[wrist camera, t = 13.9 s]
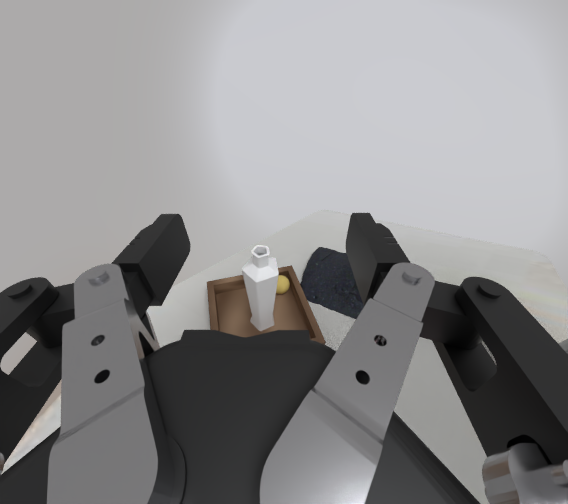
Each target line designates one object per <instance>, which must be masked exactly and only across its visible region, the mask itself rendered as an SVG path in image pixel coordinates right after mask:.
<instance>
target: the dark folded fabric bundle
mask: <svg viewBox="0 0 568 504" xmlns="http://www.w3.org/2000/svg"><path fill="white" fill-rule="evenodd" d="M300 285H301V288H302V290H303V292H304V294H305V297H306V299H307V300H308V301H310V302H312V303H316V304H320V305H322V306H324V307H326V308H328V309H330V310H334V311H336V312H339V313H341V314H344V315H346V316H349V317H351V318H355V319H357V318H358V316H359V314H360V313H361V311H362V309H363V308H364V305H363V302H362V299H361V296H360V293H359V290H358V287H357V284H356V281H355V278H354V274H353V271H352V268H351V265H350V262H349V259H348V256H347V253H340V252H337V251H335V250H331V249H328V248H323V247H319V248H318V249H317V250H316V251H315V252H314V253H313V254H312V256H311V258H310V260H309V261H308V263H307V267H306V269H305V271H304V275H303V278H302V282H301V284H300Z"/></svg>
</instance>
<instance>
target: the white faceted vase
mask: <svg viewBox="0 0 568 504" xmlns="http://www.w3.org/2000/svg"><path fill="white" fill-rule="evenodd" d="M251 253H252V255H253V256H252V257H251V258H250V259H249V261H248V262H247V263H246V264H245V265H244V266H243V267H242V273H243V278H244V282H245V286H246V291H247V295H248V299H249V304H250V308H251V312H252V317H251V320H250V322H251V323H252V324H253V325H254V326H255V327H256V328H257V329H258V330H259V331H262V330H265V329H267V328H269V327H272V326H274V317H273V309H274V303H275V296H276V289H277V282H278V275H279V272H278V267H277V261H276V258H274V257H268V255H269V254H270V253H269V248H268V246H262V245H256V246H255V247H254V248H253V250H252V251H251Z"/></svg>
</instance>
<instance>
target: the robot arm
mask: <svg viewBox="0 0 568 504" xmlns="http://www.w3.org/2000/svg"><path fill="white" fill-rule="evenodd" d="M189 252H190V241H189V238H188V235H187V232H186V229H185V225H184V223H183V219H182V217H181V216H180V215H179V214H161V215H160V216H159V217H158V218H157V219H156V221H155V222H154V223H153V224H152V225H149V226H148V227H146V228H145V229H143V230H141V231H140V232H139V234H138V235H137V236H136V237H135V239H133V240H132V241H131V242H130V245H128V246H127V247H126V248H125V249H124V250H123V251H122V252H121V253H120V254H119V256H118V257H117V258H116V259H115V260H114V261H113V262H112V263H111V264H104V265H100V266H96V267H94V268H91V269H89V270H87V271H85V272H84V273H83V274H81V275H80V276H79V277H78V278H77V279H76V281H75V283H72V284H68V285H63V286H58V287H54V286H53V285H52V284H51V283H50V282H49V281H48V280H47V279H46V278H41V277H38V278H31V279H27V280H24V281H21V282H19V283H16V284H14V285H12V286H10V287H8V288H7V289H5V290H4V291H2V292H1V293H0V363H1V359H2V357H3V356H4V354H5V353H6V352H7V351H8V350H9V349H10V348H11V347H12V346H13V345H14V344H15V342H16V341H17V340H18V339H19V338H20V337H21V336H22V335H23V334H24V333H25V332H27V333H28V334H29V335H30V336H32V337H33V338H34V339H35V340H36V341H37V342H36V344H35V345H34V346H33V347H32V348H31V350H30V351H29V352H28V353H27V354H26V355H25V356H24V358H23V359H22V360H21V361H20V363H19V364H18V365H17V366H16V367H15V368H14V370H13V371H12V372H11V373H10V374H9V375H7V374H6V373H4V372H3V371H2V370H1V368H0V504H480V503H479V502H478V501H477V499H476V498H475V497H474V496H473V495H472V494H471V493H470V492H469V491H468V490H467V489H466V488H465V487H464V486H463V484H462V483H461V482H460V481H459V480H458V479H457V478H456V477H455V476H454V475H453V474H452V473H451V472H450V471H449V470H448V468H447V467H446V466H445V465H444V464H443V463H442V462H441V461H440V460H439V459H438V458H437V457H436V456H435V455H434V454H433V453H432V451H431V450H430V449H429V448H428V447H427V446H426V445H425V444H424V443H423V442H422V441H421V440H420V439H419V438H418V437H417V435H416V434H415V433H414V432H413V431H412V430H411V429H410V428H409V427H408V426H407V425H406V424H405V423H404V422H403V421H402V419H401V418H400V417H399V416H398V415H397V414H396V413H395V412H394V411H393V410H394V407H395V404H396V402H397V399H398V396H399V393H400V390H401V387H402V384H403V381H404V379H405V376H406V373H407V370H408V367H409V364H410V361H411V358H412V356H413V353H414V350H415V347H416V344H417V341H418V338H419V337H423V338H426V339H430V340H432V341H433V343H434V345H435V347H436V349H437V351H438V353H439V356H440V358H441V360H442V362H443V364H444V366H445V368H446V370H447V373H448V375H449V377H450V379H451V381H452V383H453V385H454V387H455V390H456V392H457V394H458V396H459V398H460V400H461V402H462V404H463V406H464V409H465V411H466V413H467V415H468V417H469V419H470V421H471V423H472V426H473V428H474V430H475V432H476V434H477V436H478V438H479V440H480V442H481V445H482V447H483V449H484V451H485V453H486V455H487V457H488V458H487V459H486V460H485V461H484V464H483V468H482V476H483V481H484V485H485V494H486V497H487V499H488V501H489V503H490V504H568V339H566V340H564V341H563V342H561V343H559V344H558V343H557V342H556V341H555V340H554V339H553V338H552V337H551V335H550V334H549V333H548V332H547V331H546V330H545V329H544V328H543V327H542V326H541V325H540V324H539V323H538V321H537V320H536V319H535V318H534V317H533V316H532V315H531V314H530V313H529V312H528V311H527V310H526V308H525V307H524V306H523V305H522V304H521V303H520V302H519V301H518V300H517V299H516V298H515V297H514V296H513V294H512V293H511V292H510V291H509V290H507V289H506V288H505V287H503V286H502V285H500V284H498V283H496V282H494V281H492V280H489V279H485V278H481V277H468V278H466V279H465V280H464V281H463V282H462V284H461V285H460V286H456V285H451V284H447V283H442V282H438V281H435V280H434V277H433V276H432V275H431V273H430V272H428V271H427V270H426V269H424V268H423V267H421V266H418V265H416V264H412V263H410V261H409V260H408V258H407V257H406V255H405V253H404V252H403V250H402V249H401V247H400V246H399V244H397V241H396V239H395V238H394V236H393V235H392V233H391V232H390V230H389V229H388V228H386V227H385V226H383V225H382V224H381V223H375V221H374V220H373V218H372V216H371V214H370V213H352V215H351V218H350V223H349V228H348V233H347V239H346V253H347V256H348V259H349V262H350V265H351V268H352V271H353V274H354V278H355V281H356V284H357V287H358V290H359V293H360V296H361V299H362V302H363V305H364V308H363V309H362V311H361V313H360V314H359V316H358V318H357V319H356V321H355V322H354V324H353V326H352V327H351V329H350V330H349V332H348V334H347V335H346V337H345V339H344V340H343V342H342V343H341V345H340V347H339V348H338V350H337V351H334V350H333V349H331V348H330V347H328V346H326V345H324V344H322V343H319V342H316V341H313V340H310V336H309V330H276V331H272V332H267V333H263V334H259V335H255V336H250V337H240V336H237V335H233V334H229V333H225V332H221V331H217V330H184V332H183V335H182V337H181V340H179V341H176V342H173V343H170V344H168V345H166V346H163V347H161V348H160V346H159V343H158V340H157V338H156V335H155V332H154V329H153V326H152V323H151V320H150V317H149V314H148V313H147V311H146V310H147V309H148V307H149V306H162V304H163V302H164V300H165V298H166V296H167V294H168V292H169V291H170V289H171V287H172V285H173V283H174V281H175V279H176V277H177V275H178V273H179V272H180V270H181V268H182V266H183V264H184V262H185V260H186V259H187V257H188V255H189ZM482 341H484V342H485V344H486V345H487V347H488V348H489V350H490V351H491V353H492V354H493V356H494V358H495V360H496V364H497V366H496V365H495V363H494V362H493V360H492V358H491V357H490V355H489V354H488V352H487V351H486V349H485V348H484V346H483V345H482V343H481V342H482ZM61 379H62V387H61V388H62V390H61V427H59V428H58V429H57V430H56V431H54V432H53V433H52V434H51V435H49V436H48V437H47V438H46V439H45V440H43V441H42V442H41V443H40V444H38V445H37V446H36V447H35V448H33V449H32V450H31V451H30V452H29V453H27V454H26V455H25V456H24V457H22V458H21V459H20V460H19V461H18V462H16V463H15V464H14V465H13V466H11V467H10V468H9V469H8V470H6V471H5V472H4V473H3V474H2V475H1V473H2V471H3V467H4V464H5V462H6V461H7V459H8V458H9V456H10V455H11V453H12V452H13V450H14V449H15V447H16V446H17V444H18V443H19V441H20V440H21V438H22V437H23V435H24V434H25V432H26V431H27V429H28V428H29V426H30V425H31V423H32V422H33V420H34V419H35V417H36V416H37V414H38V413H39V411H40V410H41V408H42V407H43V406H44V404H45V402H46V401H47V399H48V398H49V397H50V395H51V394H52V392H53V391H54V389H55V388H56V386H57V385H58V383H59V382H60V380H61Z"/></svg>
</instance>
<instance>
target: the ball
mask: <svg viewBox="0 0 568 504" xmlns="http://www.w3.org/2000/svg"><path fill="white" fill-rule="evenodd" d="M289 286H290V283H289V280H288V279H287V278H286V277H285V276H283V275H278V282H277V289H276V293H278V294H283V293H285V292H286V291H287V290H288V289H289Z"/></svg>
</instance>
